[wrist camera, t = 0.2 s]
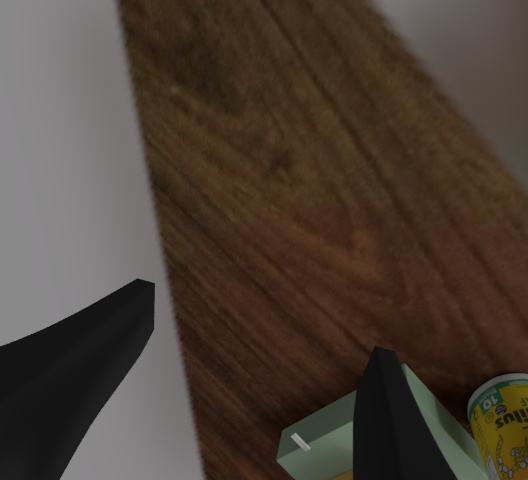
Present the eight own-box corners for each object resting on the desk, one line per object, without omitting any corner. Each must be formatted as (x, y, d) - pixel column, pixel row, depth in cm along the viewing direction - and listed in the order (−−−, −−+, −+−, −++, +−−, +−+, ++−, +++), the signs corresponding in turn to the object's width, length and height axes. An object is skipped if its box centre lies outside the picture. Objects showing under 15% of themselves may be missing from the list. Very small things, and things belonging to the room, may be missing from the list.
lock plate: (342, 523, 30) (341, 561, 27) (250, 431, 29) (240, 463, 26) (495, 462, 25) (510, 503, 23) (392, 349, 24) (396, 379, 21)
